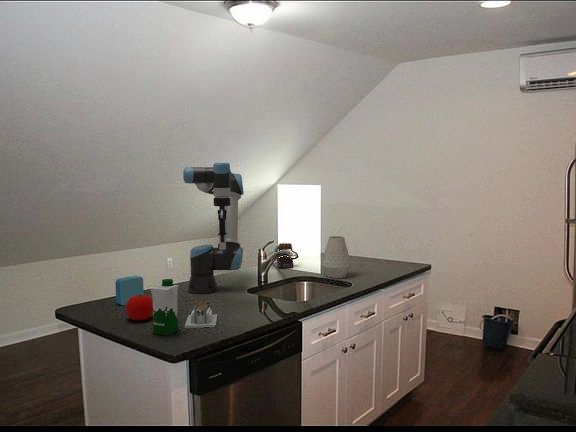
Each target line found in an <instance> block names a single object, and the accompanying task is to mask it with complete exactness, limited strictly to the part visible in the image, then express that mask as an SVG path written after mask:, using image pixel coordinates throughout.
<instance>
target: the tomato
mask: <svg viewBox="0 0 576 432" xmlns="http://www.w3.org/2000/svg"><path fill="white" fill-rule="evenodd" d="M125 312H126V314H127V316H128V318H129V319H131V320H133V321H144V320H147V319H149V318H150V317H152V316H153V297H152V296H151V295H150V296H149V295H148V294H144V295H140V294H139V295H136V296H133V297H131V298H130V299H129V300H128V301H127V305H125Z"/></svg>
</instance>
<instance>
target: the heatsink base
mask: <svg viewBox="0 0 576 432" xmlns="http://www.w3.org/2000/svg"><path fill="white" fill-rule="evenodd" d="M197 310H198V307H197V305H194V307H193V310H192V311H191V314H189V315H187V318H186V321H185V324H184V329H201V328H202V329H204V327H209V328H216V327H215V326H216V325H217V320H218V314H215V313H214V314H213V309H211V300H206V301H205V306H204V313H197Z"/></svg>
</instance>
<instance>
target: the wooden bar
mask: <svg viewBox="0 0 576 432" xmlns="http://www.w3.org/2000/svg"><path fill="white" fill-rule="evenodd" d="M205 305H206V301H205V300H201V301H200V300H199V305H198V307H197V309H198V310H197V313H204V306H205Z"/></svg>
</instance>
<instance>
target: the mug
mask: <svg viewBox="0 0 576 432" xmlns="http://www.w3.org/2000/svg"><path fill="white" fill-rule="evenodd" d="M283 249H291V250H292V251H293V244H292V243H288V242H282V243H279V244H278V245H276V246H275V248H274V254H275V252H277V253H278V251H280V250H283ZM276 262H277V263H276V268H277V269H282V270H287V269H288V270H289V269H292V268H293V269H294V258H293V259H290V258H289V257H287V256H283V257H280V258H278V259H277V260H276Z"/></svg>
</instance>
